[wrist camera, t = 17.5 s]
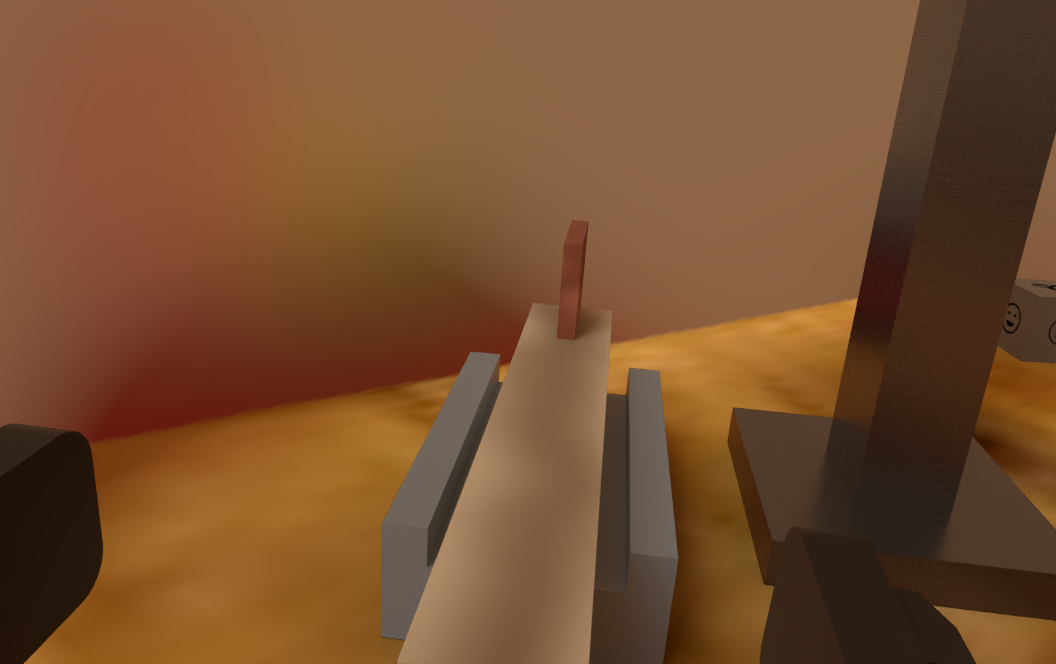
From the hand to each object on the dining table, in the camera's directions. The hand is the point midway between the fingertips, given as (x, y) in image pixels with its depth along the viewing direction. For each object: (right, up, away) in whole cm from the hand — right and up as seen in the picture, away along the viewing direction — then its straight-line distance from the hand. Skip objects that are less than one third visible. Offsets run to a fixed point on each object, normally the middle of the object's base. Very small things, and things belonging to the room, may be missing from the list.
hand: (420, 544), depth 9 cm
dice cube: (+40, +1, +53) cm, 66 cm away
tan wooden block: (+2, -4, +21) cm, 22 cm away
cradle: (+2, -6, +26) cm, 26 cm away
